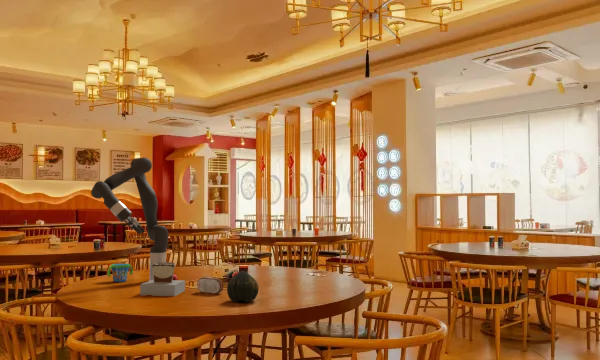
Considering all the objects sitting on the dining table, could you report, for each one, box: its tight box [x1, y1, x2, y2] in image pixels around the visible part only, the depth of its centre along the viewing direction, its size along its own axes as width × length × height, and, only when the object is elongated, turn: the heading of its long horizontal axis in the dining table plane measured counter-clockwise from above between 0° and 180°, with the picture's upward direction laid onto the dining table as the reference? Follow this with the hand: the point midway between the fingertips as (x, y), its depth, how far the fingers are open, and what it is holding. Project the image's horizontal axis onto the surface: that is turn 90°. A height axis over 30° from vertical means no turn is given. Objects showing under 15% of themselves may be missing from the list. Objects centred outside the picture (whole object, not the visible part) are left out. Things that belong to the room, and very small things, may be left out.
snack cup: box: [107, 263, 134, 283], centre depth 305 cm, size 16×10×10 cm
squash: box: [226, 270, 260, 303], centre depth 245 cm, size 14×15×15 cm
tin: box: [196, 276, 224, 295], centre depth 266 cm, size 15×3×8 cm, turn 65°
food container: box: [152, 261, 176, 283], centre depth 267 cm, size 12×6×10 cm, turn 88°
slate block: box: [139, 279, 186, 297], centre depth 266 cm, size 16×18×6 cm
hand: (142, 232), depth 277 cm, fingers open, 8 cm apart
